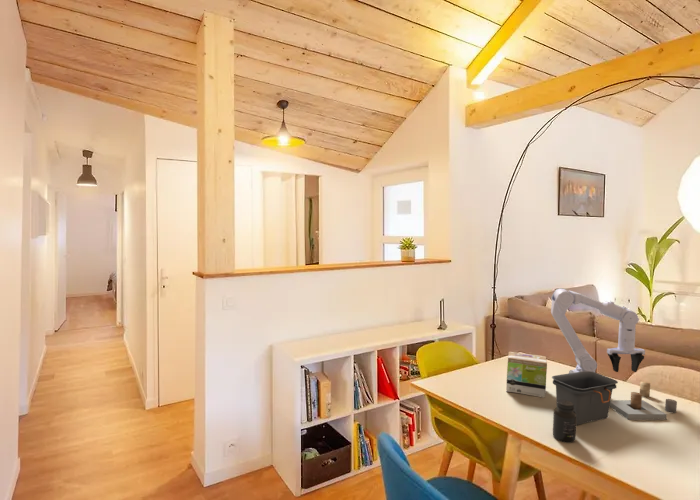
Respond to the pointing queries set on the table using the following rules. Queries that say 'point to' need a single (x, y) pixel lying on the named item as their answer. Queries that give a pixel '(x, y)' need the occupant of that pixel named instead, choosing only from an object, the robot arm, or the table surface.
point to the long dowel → (636, 401)
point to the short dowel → (670, 405)
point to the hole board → (637, 411)
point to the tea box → (526, 374)
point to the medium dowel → (645, 389)
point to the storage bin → (586, 394)
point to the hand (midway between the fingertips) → (624, 371)
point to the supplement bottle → (564, 421)
